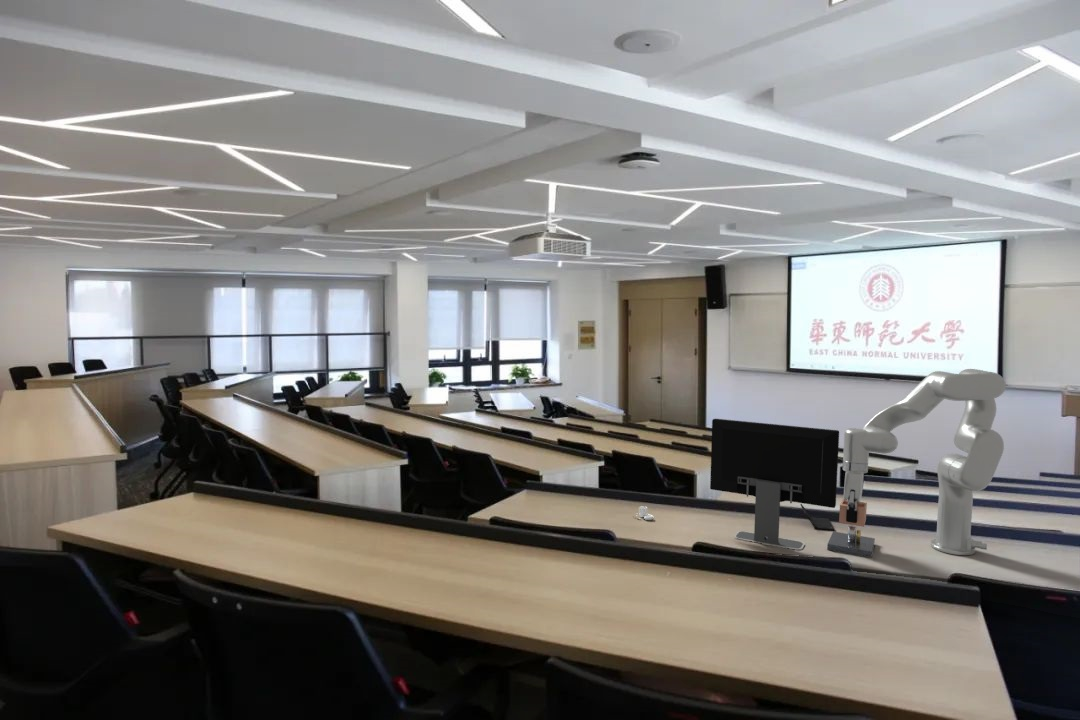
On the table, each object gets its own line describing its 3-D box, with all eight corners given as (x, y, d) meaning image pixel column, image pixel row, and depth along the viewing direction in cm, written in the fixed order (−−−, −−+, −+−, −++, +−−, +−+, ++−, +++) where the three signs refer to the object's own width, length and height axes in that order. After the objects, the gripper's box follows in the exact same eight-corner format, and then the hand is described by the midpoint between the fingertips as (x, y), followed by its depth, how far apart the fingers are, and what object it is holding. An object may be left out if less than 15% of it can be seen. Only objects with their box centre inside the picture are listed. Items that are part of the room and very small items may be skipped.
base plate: (874, 544, 224) (875, 523, 223) (871, 557, 212) (872, 536, 211) (832, 536, 231) (833, 517, 230) (827, 549, 219) (828, 529, 218)
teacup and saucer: (655, 522, 246) (655, 511, 246) (634, 521, 246) (634, 511, 246) (652, 514, 255) (652, 504, 254) (631, 514, 255) (631, 504, 255)
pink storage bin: (839, 522, 219) (839, 505, 219) (841, 516, 226) (842, 499, 225) (863, 526, 215) (864, 508, 215) (865, 520, 222) (866, 502, 221)
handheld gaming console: (841, 526, 236) (821, 501, 237) (823, 540, 237) (803, 514, 238) (828, 520, 249) (810, 496, 250) (811, 532, 249) (793, 509, 250)
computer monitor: (834, 548, 220) (840, 429, 216) (831, 556, 213) (836, 433, 209) (712, 526, 241) (715, 417, 237) (705, 533, 233) (708, 421, 230)
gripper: (845, 459, 228) (843, 509, 230) (839, 470, 213) (837, 524, 215) (870, 462, 224) (867, 513, 226) (865, 473, 210) (862, 528, 211)
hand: (852, 518), depth 220 cm, fingers closed on pink storage bin, 7 cm apart
